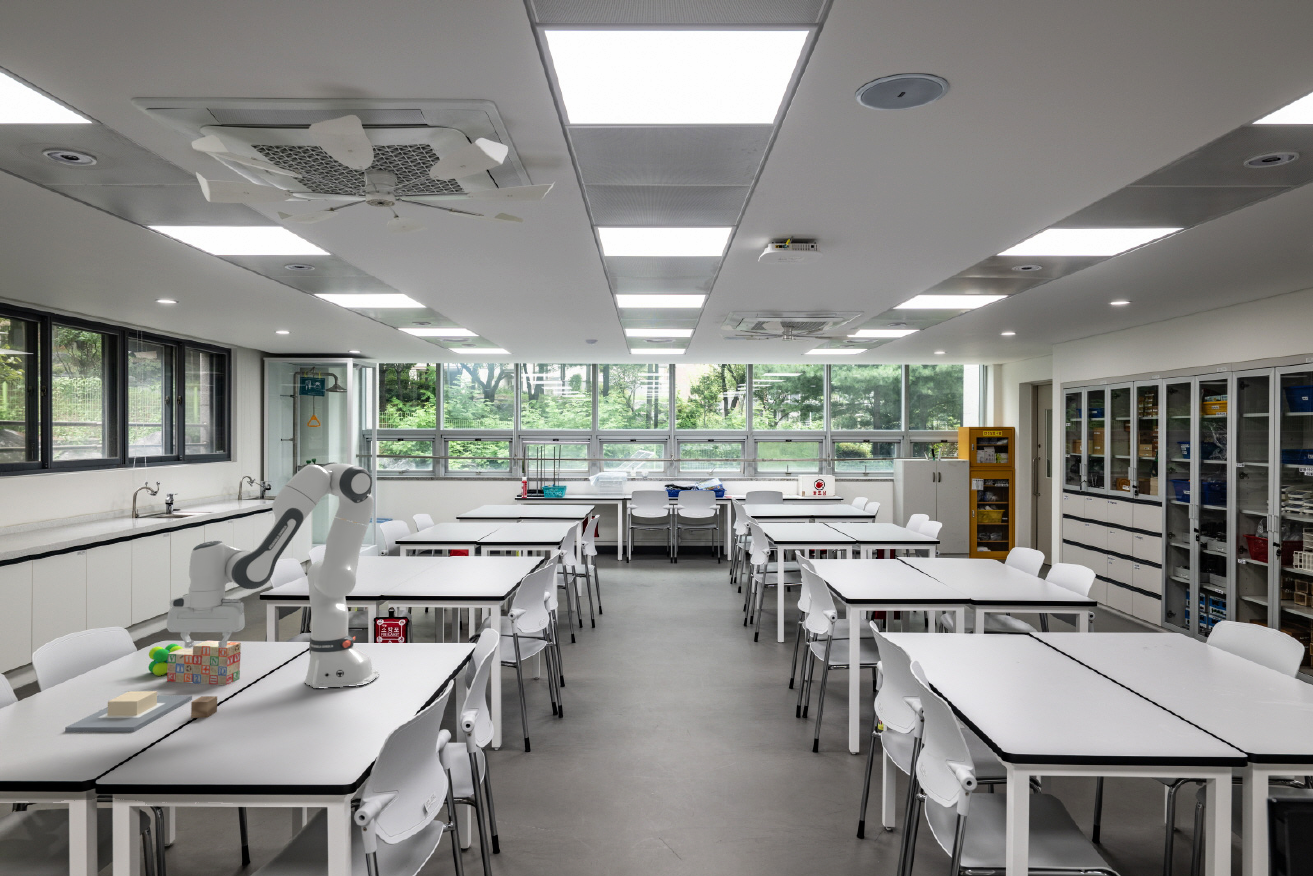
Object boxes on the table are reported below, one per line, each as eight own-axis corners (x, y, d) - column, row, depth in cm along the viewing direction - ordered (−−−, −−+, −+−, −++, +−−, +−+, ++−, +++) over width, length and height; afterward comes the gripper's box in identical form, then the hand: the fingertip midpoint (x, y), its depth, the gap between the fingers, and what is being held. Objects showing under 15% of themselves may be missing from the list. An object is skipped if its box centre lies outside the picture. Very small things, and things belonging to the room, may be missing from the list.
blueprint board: (191, 699, 207) (192, 682, 207) (134, 731, 183) (134, 712, 183) (131, 699, 207) (131, 682, 207) (65, 732, 183) (65, 712, 183)
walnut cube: (216, 712, 198) (217, 696, 198) (207, 718, 193) (207, 701, 194) (201, 712, 198) (201, 696, 198) (190, 718, 193) (191, 701, 193)
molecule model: (185, 672, 233) (176, 666, 239) (186, 646, 233) (177, 641, 239) (155, 678, 226) (146, 673, 232) (155, 651, 226) (147, 646, 232)
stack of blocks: (166, 682, 223) (167, 644, 223) (181, 676, 229) (182, 639, 229) (226, 685, 220) (227, 647, 221) (240, 679, 227) (241, 641, 227)
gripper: (250, 596, 200) (249, 644, 200) (178, 596, 199) (177, 644, 199) (237, 601, 194) (236, 650, 193) (163, 601, 193) (162, 650, 193)
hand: (205, 647), depth 196 cm, fingers open, 8 cm apart
